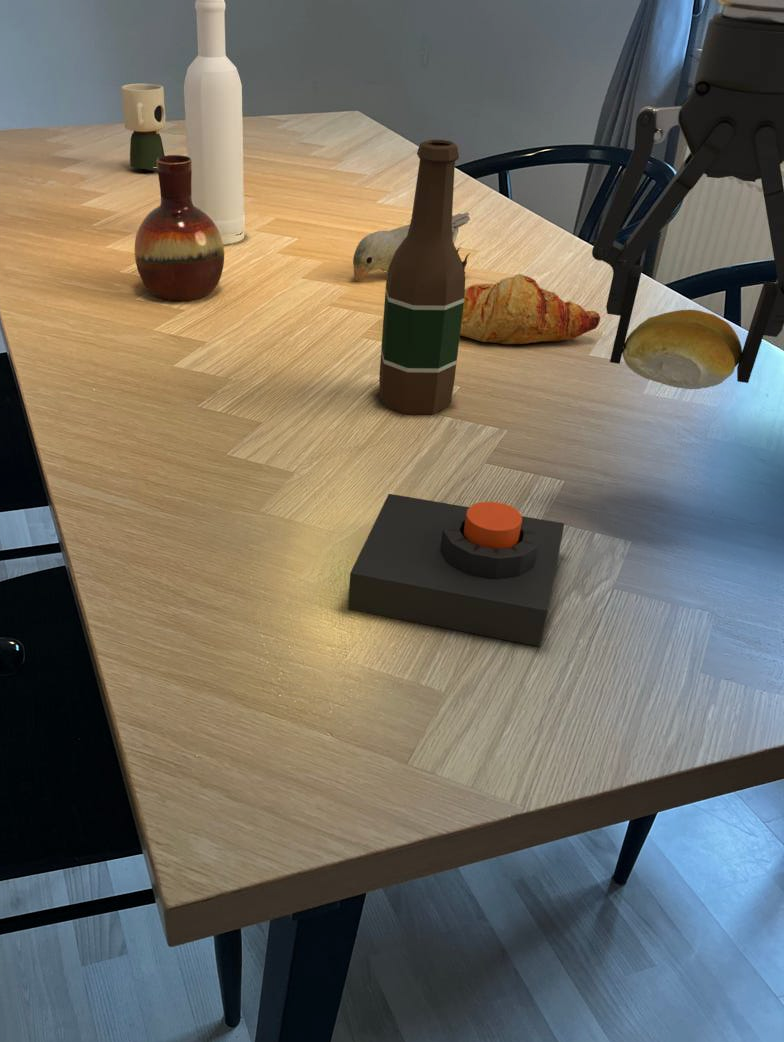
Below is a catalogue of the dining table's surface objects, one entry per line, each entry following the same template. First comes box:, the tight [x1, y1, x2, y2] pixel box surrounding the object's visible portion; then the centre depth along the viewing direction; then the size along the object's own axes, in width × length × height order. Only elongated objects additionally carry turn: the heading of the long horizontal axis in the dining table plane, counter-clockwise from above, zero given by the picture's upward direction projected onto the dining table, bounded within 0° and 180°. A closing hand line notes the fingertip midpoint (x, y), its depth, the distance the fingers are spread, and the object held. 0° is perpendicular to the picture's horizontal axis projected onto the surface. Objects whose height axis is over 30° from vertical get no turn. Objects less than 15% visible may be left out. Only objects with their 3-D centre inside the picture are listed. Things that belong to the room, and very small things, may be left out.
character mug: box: [121, 83, 167, 173], centre depth 169 cm, size 11×7×13 cm, turn 177°
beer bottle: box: [378, 139, 466, 415], centre depth 93 cm, size 8×8×24 cm
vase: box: [134, 154, 225, 302], centre depth 120 cm, size 11×11×15 cm
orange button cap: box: [464, 501, 523, 549], centre depth 71 cm, size 4×4×2 cm
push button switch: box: [347, 493, 565, 647], centre depth 73 cm, size 14×12×5 cm
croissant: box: [460, 273, 601, 345], centre depth 113 cm, size 21×10×8 cm, turn 79°
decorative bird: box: [352, 212, 471, 282], centre depth 128 cm, size 5×16×8 cm, turn 109°
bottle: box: [183, 0, 246, 246], centre depth 133 cm, size 8×8×30 cm
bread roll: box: [622, 309, 743, 390], centre depth 73 cm, size 8×9×4 cm
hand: (678, 365), depth 74 cm, fingers closed on bread roll, 8 cm apart
